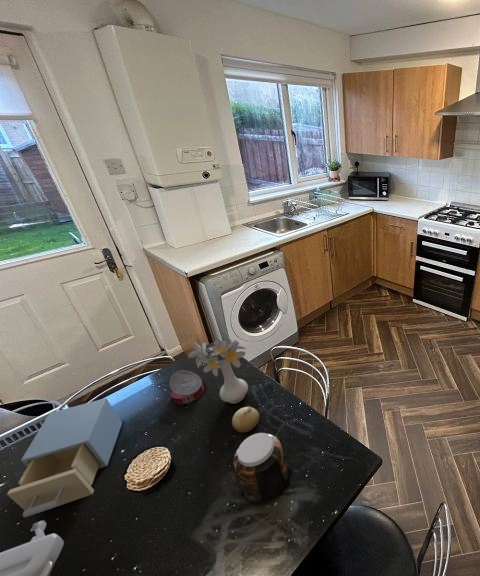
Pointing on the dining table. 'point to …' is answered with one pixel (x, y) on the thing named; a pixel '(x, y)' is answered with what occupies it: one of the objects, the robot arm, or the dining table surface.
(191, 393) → the canned food
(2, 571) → the robot arm
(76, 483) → the beige drawer
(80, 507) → the dining table surface
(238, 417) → the yellow-brown oval lump
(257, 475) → the jar
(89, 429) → the drawer casing
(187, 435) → the dining table surface
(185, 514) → the dining table surface
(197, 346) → the flower vase
